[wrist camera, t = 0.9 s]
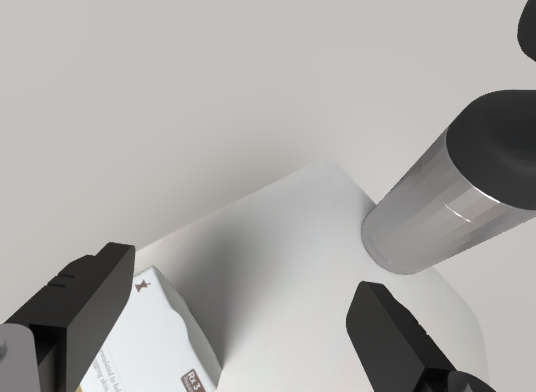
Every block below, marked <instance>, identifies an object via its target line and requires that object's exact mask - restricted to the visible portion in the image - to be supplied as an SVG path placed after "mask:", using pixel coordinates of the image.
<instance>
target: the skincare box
mask: <svg viewBox="0 0 536 392" xmlns="http://www.w3.org/2000/svg"><path fill="white" fill-rule="evenodd" d="M221 372H222V369H221V366H220V364H219V362H218V359H217V357H216V355H215V353H214V351H213V349H212V347H211V345H210V343H209V342H208V340H207V338H206V336H205V335H204V333H203V331H202V330H201V328H200V326H199V325H198V323H197V322H196V320H195V318H194V317H193V315H192V314H191V312H190V310H189V308H188V306H187V304H186V302H185V301H184V300H183V299H182V297H181V296H180V295H179V294H178V293H177V291H176V290H175V289H174V288H173V287H172V286H171V284H170V283H169V282H168V281H167V280H166V279H165V277H164V276H163V275H162V274H161V273H160V271H159V270H158V269H157V268H156V267H155V266H150V267H149V268H147V269H146V270H144V271H142V272H141V273H139V274H137V275H135V276H134V277H133V283H132V290H131V294H130V297H129V300H128V302H127V304H126V306H125V308H124V310H123V311H122V313H121V315H120V316H119V318H118V320H117V322H116V323H115V325H114V327H113V328H112V330H111V332H110V333H109V335H108V337H107V339H106V340H105V342H104V344H103V345H102V347H101V349H100V350H99V352H98V354H97V356H96V357H95V359H94V361H93V362H92V364H91V366H90V367H89V369H88V371H87V373H86V374H85V376H84V378H83V379H82V381H81V383H80V386H81V389H82V392H214V391H215V390H216V389H217V386H218V382H219V379H220V375H221Z"/></svg>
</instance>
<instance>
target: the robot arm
mask: <svg viewBox="0 0 536 392" xmlns="http://www.w3.org/2000/svg"><path fill="white" fill-rule="evenodd" d="M517 38H518V42H519V45H520V47H521V49H522V51H523V52H524V53H525V54H526V55H527V56H528V57H530V58H531V59H533V60H534V61H535V62H536V0H528V1H527V3H526V5H525V7H524V10H523V12H522V15H521V17H520V20H519V24H518V34H517ZM534 217H536V90H501V91H495V92H491V93H488V94H485V95H483V96H481V97H479V98H477V99H476V100H474V101H473V102H471V103H470V104H469V105H468V106H467V107H466V108H465V109H464V110H463V111H462V112H461V113H460V114H459V115H458V116H457V117H456V119H455V120H454V121H453V122H452V123H451V124H450V125H449V126H448V127H447V129H446V130H445V131H444V132H443V133H442V134H441V135H440V136H439V137H438V138H437V140H436V141H435V142H434V143H433V144H432V145H431V146H430V148H429V149H428V150H427V151H426V152H425V153H424V154H423V155H422V156H421V157H420V159H419V160H418V161H417V162H416V163H415V164H414V165H413V166H412V168H410V170H409V171H408V172H407V173H406V174H405V175H404V176H403V177H402V178H401V179H400V181H399V182H398V183H397V184H396V185H395V186H394V187H393V188H392V189H391V191H390V192H389V193H388V194H387V195H386V196H385V197H384V198H383V199H382V200H381V201H380V202H379V204H378V205H377V206H376V207H375V208H374V209H373V210H372V211H371V212H370V213H369V215H368V216H367V217H366V218H365V220H364V222H363V225H362V234H361V235H362V240H363V244H364V246H365V248H366V250H367V252H368V253H369V255H370V256H371V257H372V258H373V260H374V261H375V262H376V263H378V264H379V265H380V266H381V267H383V268H385V269H386V270H388V271H390V272H393V273H397V274H403V275H409V274H414V273H417V272H420V271H422V270H424V269H426V268H428V267H430V266H432V265H435V264H437V263H439V262H441V261H443V260H446V259H447V258H450V257H452V256H454V255H456V254H458V253H460V252H463V251H465V250H466V249H469V248H471V247H473V246H475V245H477V244H480V243H482V242H484V241H486V240H488V239H490V238H492V237H494V236H497V235H498V234H501V233H503V232H505V231H507V230H509V229H511V228H513V227H515V226H517V225H519V224H521V223H524V222H526V221H528V220H530V219H532V218H534ZM134 262H135V246H133V245H127V244H120V243H114V242H109V243H108V244H106V246H105V247H104V248H103V249H102V250H101V251H100V252H99V253H98V254H97V255H96V256H93V255H86V256H83V257H81V258H79V259H77V260H75V261H73V262H70V263H69V264H68V265H67V266H66V267H65V268H64V269H63V270H62V271H60V272H59V273H58V276H55V277H54V278H53V279H52V280H51V281H49V282H48V284H47V286H44V287H43V288H42V289H41V290H40V291H38V292H37V293H36V294H35V295H34V296H33V297H32V298H31V299H30V300H28V301H27V302H26V303H25V304H24V305H23V306H22V307H21V308H20V309H19V310H18V311H16V312H15V313H14V314H13V315H12V316H11V317H10V318H9V319H8V320H6V321H5V322H4V323H3V324H0V392H75V391H76V390H77V388H78V386H79V385H80V383H81V381H82V379H83V378H84V376H85V374H86V373H87V371H88V369H89V367H90V366H91V364H92V362H93V361H94V359H95V357H96V356H97V354H98V352H99V350H100V349H101V347H102V345H103V344H104V342H105V340H106V339H107V337H108V335H109V333H110V332H111V330H112V328H113V327H114V325H115V323H116V322H117V320H118V318H119V316H120V315H121V313H122V311H123V310H124V308H125V306H126V304H127V302H128V300H129V297H130V294H131V290H132V283H133V273H134ZM346 328H347V332H348V335H349V337H350V339H351V341H352V344H353V346H354V348H355V350H356V352H357V355H358V357H359V359H360V361H361V363H362V366H363V368H364V370H365V372H366V374H367V377H368V379H369V381H370V383H371V385H372V388H373V390H374V392H496V391H495V390H494V389H492V388H491V387H490V386H489V385H487V384H486V383H485V382H483V381H482V380H480V379H478V378H477V377H475V376H473V375H471V374H468V373H465V372H462V371H457V370H456V369H455V367H454V366H453V365H452V364H451V362H450V361H449V360H448V359H447V357H446V356H445V355H444V354H443V352H442V351H441V350H440V349H439V347H438V346H437V345H436V344H435V342H434V341H433V340H432V339H431V337H430V336H429V335H427V334H426V331H425V330H424V329H423V327H422V326H421V325H419V324H418V321H417V320H416V319H415V317H414V316H413V315H412V314H411V312H410V311H409V310H408V309H407V308H405V307H404V306H403V305H402V304H400V303H399V302H398V301H397V300H396V299H395V298H394V297H393V296H392V294H391V293H390V292H389V290H388V289H387V288H386V287H385V286H384V285H383V284H380V283H373V282H366V281H362V282H360V283H359V285H358V287H357V289H356V292H355V295H354V297H353V300H352V303H351V305H350V308H349V311H348V313H347V317H346Z"/></svg>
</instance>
